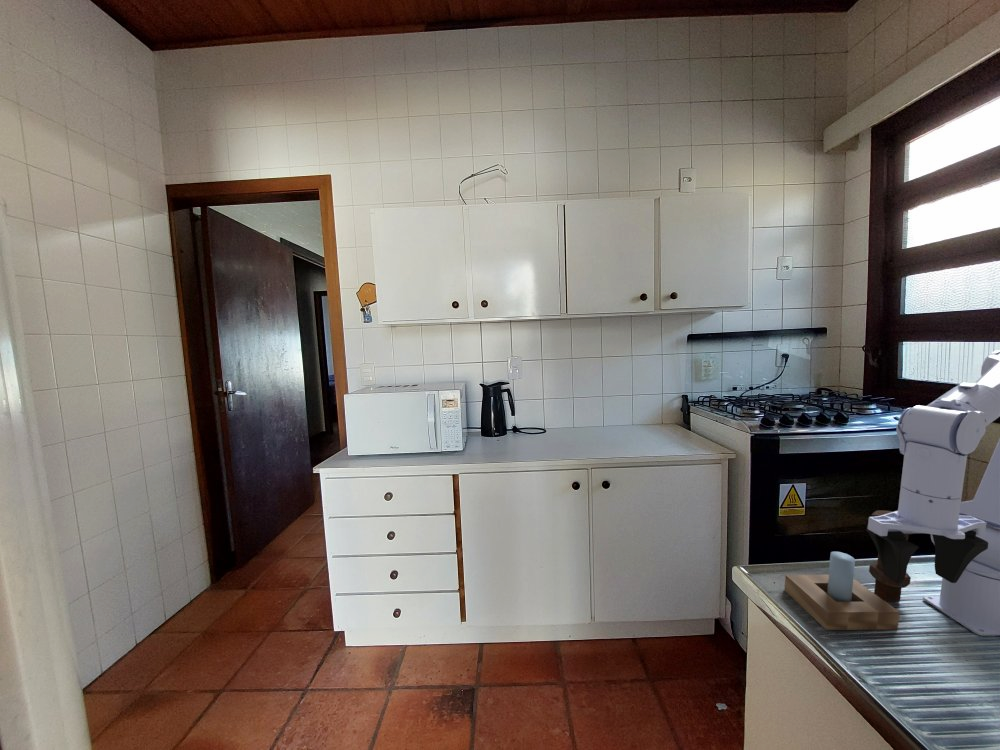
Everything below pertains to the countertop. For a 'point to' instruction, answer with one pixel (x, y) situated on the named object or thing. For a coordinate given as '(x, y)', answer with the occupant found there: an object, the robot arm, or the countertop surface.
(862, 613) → the hole block
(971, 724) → the countertop surface
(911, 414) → the robot arm
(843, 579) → the dowel
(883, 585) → the bolt
